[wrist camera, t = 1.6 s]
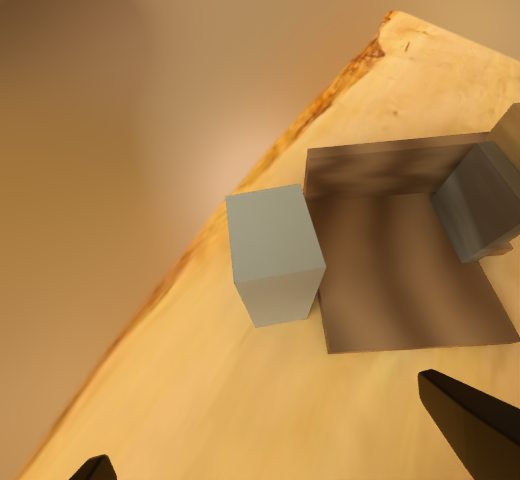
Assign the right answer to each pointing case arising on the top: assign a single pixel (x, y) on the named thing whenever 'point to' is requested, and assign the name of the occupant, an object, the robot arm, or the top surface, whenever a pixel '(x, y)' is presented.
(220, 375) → the top surface
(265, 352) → the top surface
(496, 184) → the wooden l-bracket
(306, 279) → the grey upright block
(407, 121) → the top surface
